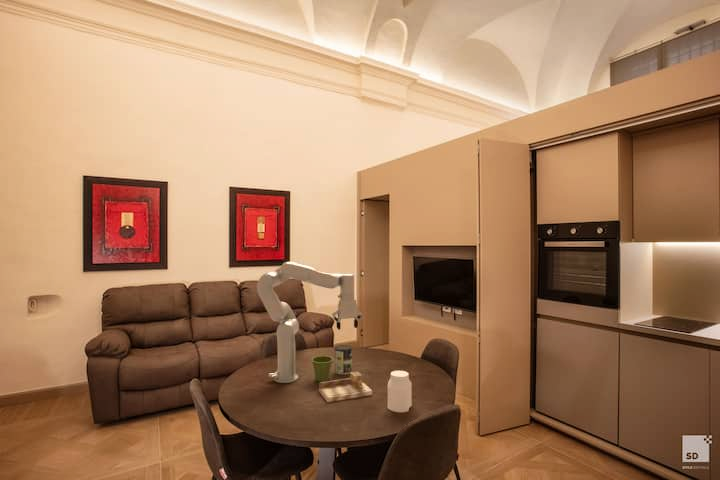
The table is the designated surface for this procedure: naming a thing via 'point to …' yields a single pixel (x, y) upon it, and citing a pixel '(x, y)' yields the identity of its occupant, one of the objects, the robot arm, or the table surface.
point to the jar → (399, 392)
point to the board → (342, 390)
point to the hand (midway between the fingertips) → (347, 328)
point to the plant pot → (322, 367)
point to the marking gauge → (356, 380)
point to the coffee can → (343, 359)
